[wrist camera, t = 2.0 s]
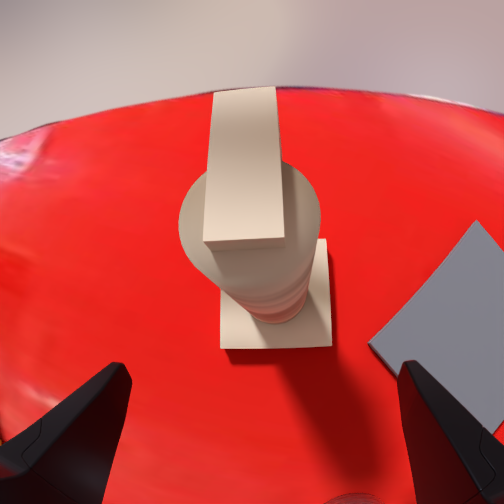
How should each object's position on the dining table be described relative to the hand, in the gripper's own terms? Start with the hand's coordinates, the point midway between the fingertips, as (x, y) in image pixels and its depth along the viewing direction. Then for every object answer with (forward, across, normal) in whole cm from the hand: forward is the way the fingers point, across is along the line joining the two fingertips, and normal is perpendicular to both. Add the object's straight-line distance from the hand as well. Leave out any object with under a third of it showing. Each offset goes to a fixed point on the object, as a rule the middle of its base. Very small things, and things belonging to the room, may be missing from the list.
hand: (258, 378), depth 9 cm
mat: (+8, -15, +8) cm, 19 cm away
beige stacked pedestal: (+11, 0, +5) cm, 12 cm away
